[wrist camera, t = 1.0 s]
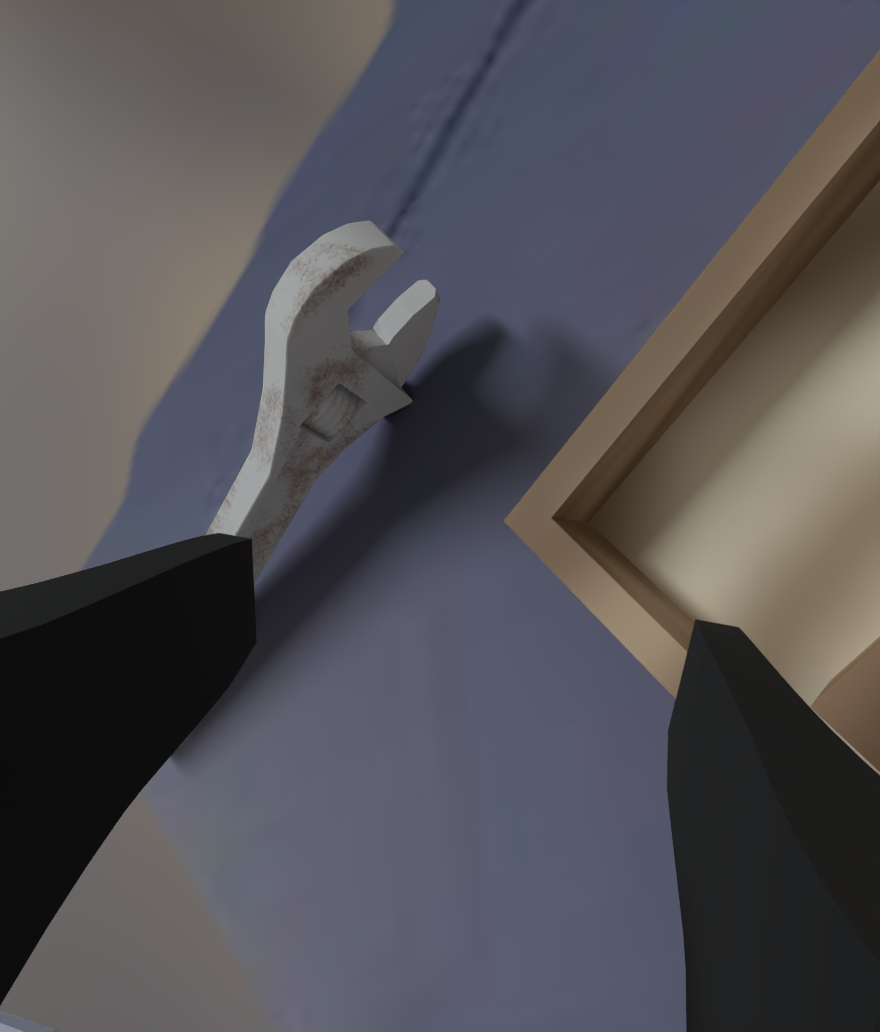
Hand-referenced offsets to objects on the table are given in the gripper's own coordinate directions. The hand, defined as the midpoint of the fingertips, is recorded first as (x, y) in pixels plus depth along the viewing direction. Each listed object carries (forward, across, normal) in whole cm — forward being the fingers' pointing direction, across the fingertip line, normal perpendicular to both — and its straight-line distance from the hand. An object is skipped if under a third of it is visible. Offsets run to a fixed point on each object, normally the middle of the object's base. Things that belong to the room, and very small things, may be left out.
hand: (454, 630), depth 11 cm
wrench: (+20, +12, +9) cm, 25 cm away
